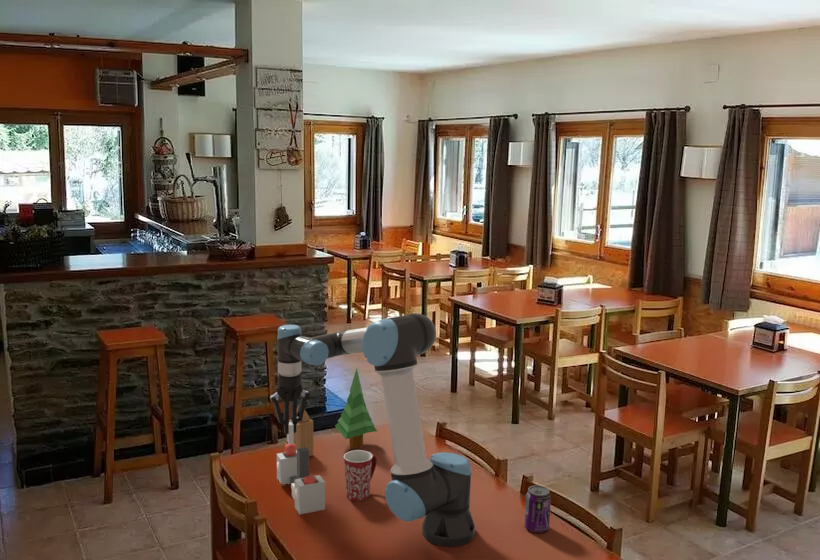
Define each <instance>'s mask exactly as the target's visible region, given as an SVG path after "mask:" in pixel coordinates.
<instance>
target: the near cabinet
mask: <svg viewBox="0 0 820 560" xmlns="http://www.w3.org/2000/svg"><path fill="white" fill-rule="evenodd" d="M314 476H315V477H316V483H313V484H308V485H305V484H304V478H300V479H295V500H294V508H295V510H296V511H297V513H298V515H304V514H308V513H309V514H310V513H315V512H319V511H323V510H326V481H325V479H324V478H323V477H322V476H321V474H319V475H314Z"/></svg>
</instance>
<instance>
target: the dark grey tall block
mask: <svg viewBox="0 0 820 560" xmlns="http://www.w3.org/2000/svg"><path fill="white" fill-rule="evenodd" d="M305 476H310V456H309V450H308V449H307V448H306V447H304V448H298V449H297V479H300V478H304V477H305ZM290 488H291V497H292V498H293V500H294V501H295V483H292V484H291V485H290Z"/></svg>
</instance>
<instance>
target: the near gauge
mask: <svg viewBox="0 0 820 560" xmlns="http://www.w3.org/2000/svg"><path fill="white" fill-rule="evenodd" d="M315 476H316V475H309V476H305V477H304V484H305V485H308V484H313V483H316V477H315Z"/></svg>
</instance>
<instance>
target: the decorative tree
mask: <svg viewBox="0 0 820 560" xmlns="http://www.w3.org/2000/svg"><path fill="white" fill-rule="evenodd" d="M337 422H338V423H336V424H335V425H334V426H335V429H337V430H338V432H339V433H340V434H341V435H342V436H343V438H344V439H345V440H348V439H349V447H350V448H351V449H360V448H362V447H363V446H364V434H367V433H375V432H378V430H377V428H376V427H375V424H374V422H373V420H372V418H371V416H370V413H369V410H368V408H367V405H366V403H365V398H364V394H363V388H362V386H361V381H360V375H359V371H358V368H357V367H356V369H355V373H354V375H353V378H352V382H351V386H350V389H349V394H348V397H347V399H346V403H345V405H344V407H343V410H342V412H341V413H340V418H339V419H337Z"/></svg>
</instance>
